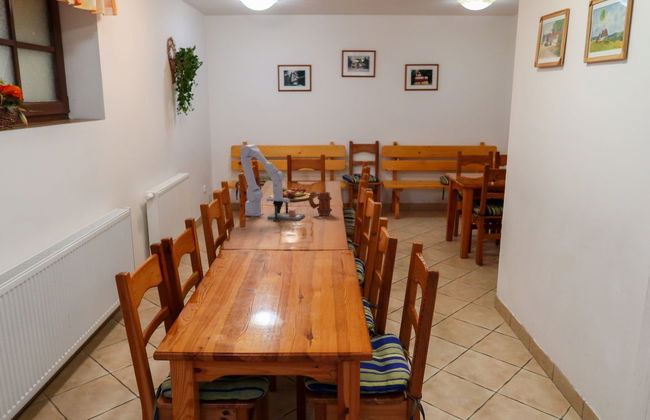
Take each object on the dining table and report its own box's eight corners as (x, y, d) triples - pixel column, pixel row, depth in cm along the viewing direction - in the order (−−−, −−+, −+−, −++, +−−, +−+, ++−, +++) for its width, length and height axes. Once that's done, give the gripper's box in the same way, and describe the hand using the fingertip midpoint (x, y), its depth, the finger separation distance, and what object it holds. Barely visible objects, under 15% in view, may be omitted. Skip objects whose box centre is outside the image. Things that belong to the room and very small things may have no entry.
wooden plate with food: (306, 203, 359) (306, 191, 358) (263, 201, 366) (263, 189, 364) (317, 195, 390) (317, 185, 388) (277, 194, 397) (277, 183, 395)
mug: (332, 213, 324) (332, 190, 321) (331, 216, 316) (331, 192, 313) (309, 213, 326) (309, 190, 322) (308, 216, 318) (307, 192, 314)
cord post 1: (271, 221, 305) (271, 206, 303) (274, 219, 309) (274, 205, 307) (278, 221, 304) (277, 206, 302) (280, 220, 307) (280, 205, 306)
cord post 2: (282, 214, 322) (282, 200, 320) (285, 213, 325) (284, 199, 324) (288, 215, 321) (288, 201, 319) (291, 213, 324) (290, 199, 322)
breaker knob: (289, 215, 311) (288, 210, 311) (290, 214, 314) (290, 209, 313) (293, 216, 310) (293, 210, 310) (295, 215, 313) (295, 209, 313)
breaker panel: (267, 218, 311) (267, 216, 311) (274, 214, 322) (274, 212, 322) (298, 220, 305) (298, 218, 305) (304, 216, 317) (304, 214, 316)
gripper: (264, 192, 310) (265, 213, 313) (286, 193, 306) (287, 215, 309) (268, 190, 317) (269, 211, 320) (290, 191, 313) (291, 212, 315)
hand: (278, 213), depth 315 cm, fingers closed
